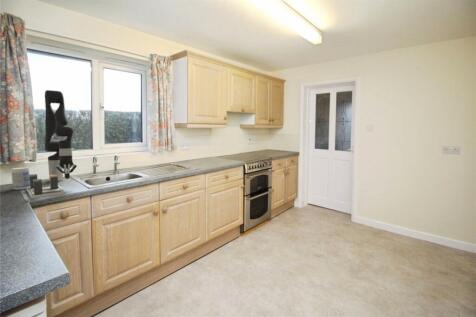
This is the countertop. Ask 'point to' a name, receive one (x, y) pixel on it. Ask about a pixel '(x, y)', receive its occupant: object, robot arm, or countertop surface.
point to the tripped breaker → (53, 181)
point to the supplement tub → (20, 178)
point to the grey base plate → (41, 188)
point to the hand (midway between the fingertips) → (67, 178)
